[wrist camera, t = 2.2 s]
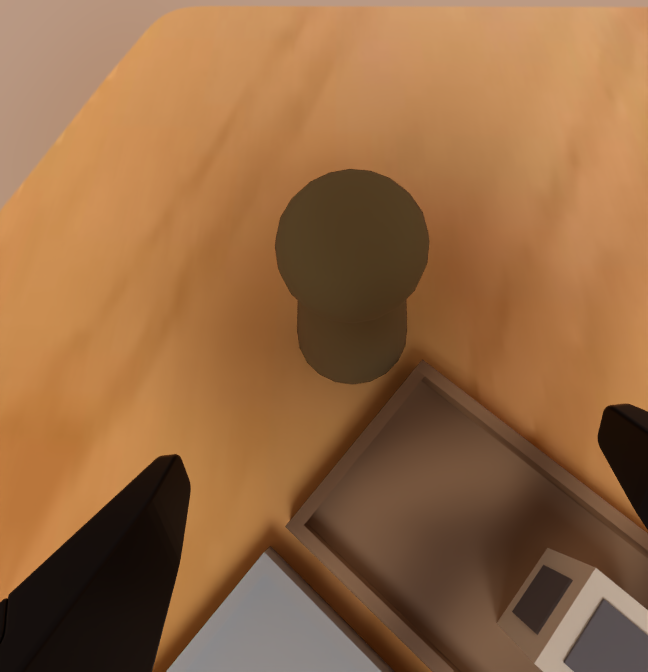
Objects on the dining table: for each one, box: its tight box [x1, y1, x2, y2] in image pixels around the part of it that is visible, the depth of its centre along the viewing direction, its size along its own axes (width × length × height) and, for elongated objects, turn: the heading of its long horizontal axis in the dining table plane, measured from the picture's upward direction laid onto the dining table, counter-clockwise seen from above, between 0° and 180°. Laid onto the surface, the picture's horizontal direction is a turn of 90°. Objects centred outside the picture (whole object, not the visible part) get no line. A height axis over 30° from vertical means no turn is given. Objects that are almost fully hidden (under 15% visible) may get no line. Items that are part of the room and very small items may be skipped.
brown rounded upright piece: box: [275, 169, 429, 384], centre depth 18 cm, size 6×6×11 cm
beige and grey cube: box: [497, 548, 648, 672], centre depth 16 cm, size 4×4×4 cm
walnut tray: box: [285, 360, 648, 672], centre depth 19 cm, size 15×10×2 cm
